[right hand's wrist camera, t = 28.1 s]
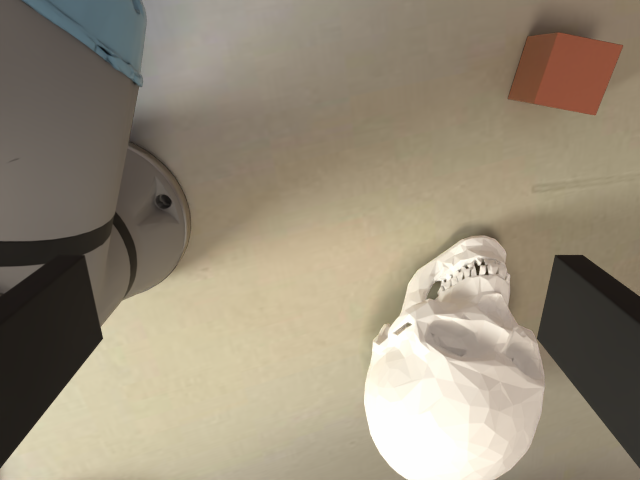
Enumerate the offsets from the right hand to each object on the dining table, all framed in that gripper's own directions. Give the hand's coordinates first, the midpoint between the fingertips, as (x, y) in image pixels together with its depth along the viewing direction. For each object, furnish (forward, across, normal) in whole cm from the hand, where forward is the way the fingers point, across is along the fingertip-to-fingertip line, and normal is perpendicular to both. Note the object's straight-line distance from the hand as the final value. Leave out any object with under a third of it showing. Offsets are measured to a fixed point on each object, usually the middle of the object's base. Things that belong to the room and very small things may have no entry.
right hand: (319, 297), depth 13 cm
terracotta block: (+29, -19, -5) cm, 35 cm away
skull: (+29, -12, +19) cm, 36 cm away
